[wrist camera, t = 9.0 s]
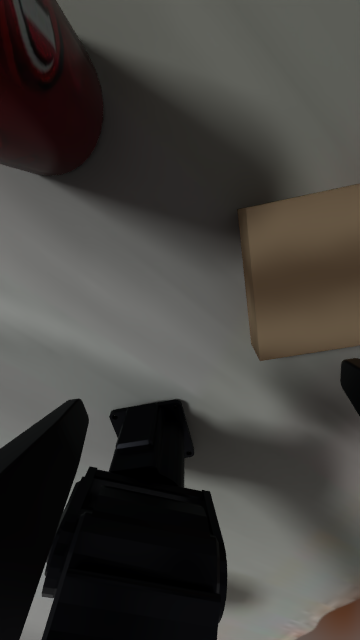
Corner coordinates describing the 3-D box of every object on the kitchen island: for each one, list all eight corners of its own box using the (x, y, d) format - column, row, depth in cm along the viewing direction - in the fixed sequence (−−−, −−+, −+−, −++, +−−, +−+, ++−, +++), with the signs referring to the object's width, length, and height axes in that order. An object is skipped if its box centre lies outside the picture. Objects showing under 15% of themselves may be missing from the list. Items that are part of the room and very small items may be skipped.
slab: (407, 315, 20) (443, 332, 17) (250, 341, 21) (260, 360, 18) (429, 168, 16) (480, 159, 13) (236, 209, 17) (245, 208, 14)
